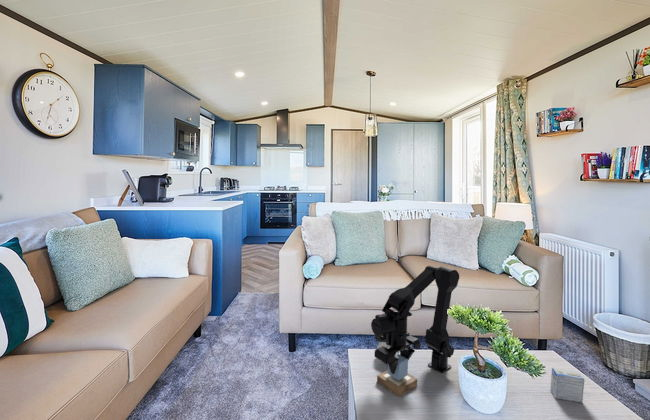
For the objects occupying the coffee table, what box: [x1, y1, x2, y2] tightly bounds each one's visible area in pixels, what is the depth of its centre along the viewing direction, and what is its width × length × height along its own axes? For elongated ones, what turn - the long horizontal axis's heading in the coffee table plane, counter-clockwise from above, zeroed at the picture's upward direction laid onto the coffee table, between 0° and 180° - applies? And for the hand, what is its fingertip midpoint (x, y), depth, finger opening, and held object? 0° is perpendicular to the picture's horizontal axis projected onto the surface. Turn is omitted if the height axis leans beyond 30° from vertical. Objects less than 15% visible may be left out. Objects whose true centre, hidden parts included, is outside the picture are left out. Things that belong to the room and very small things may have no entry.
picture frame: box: [376, 369, 418, 398], centre depth 113 cm, size 10×10×3 cm
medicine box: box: [550, 367, 585, 404], centre depth 107 cm, size 8×4×9 cm, turn 73°
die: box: [376, 342, 400, 355], centre depth 129 cm, size 8×9×10 cm
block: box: [387, 353, 409, 380], centre depth 113 cm, size 5×5×6 cm
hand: (397, 370), depth 113 cm, fingers closed on block, 5 cm apart
